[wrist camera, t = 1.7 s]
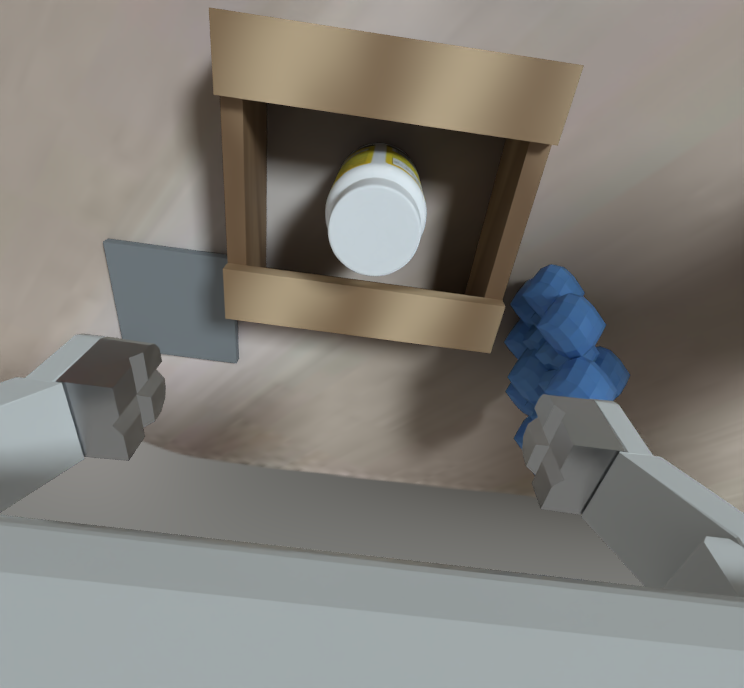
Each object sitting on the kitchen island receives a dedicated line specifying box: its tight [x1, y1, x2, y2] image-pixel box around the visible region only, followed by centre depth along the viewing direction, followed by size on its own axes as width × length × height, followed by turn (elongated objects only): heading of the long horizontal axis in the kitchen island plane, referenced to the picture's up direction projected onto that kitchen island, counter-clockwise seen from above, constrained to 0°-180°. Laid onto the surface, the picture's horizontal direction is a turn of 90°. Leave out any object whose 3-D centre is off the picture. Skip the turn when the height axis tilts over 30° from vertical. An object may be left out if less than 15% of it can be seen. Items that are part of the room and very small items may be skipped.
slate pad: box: [103, 239, 239, 363], centre depth 30 cm, size 8×8×1 cm
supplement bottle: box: [325, 143, 427, 276], centre depth 22 cm, size 5×5×8 cm
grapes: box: [504, 264, 630, 475], centre depth 25 cm, size 12×7×12 cm, turn 3°
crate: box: [209, 8, 584, 353], centre depth 24 cm, size 15×14×5 cm
